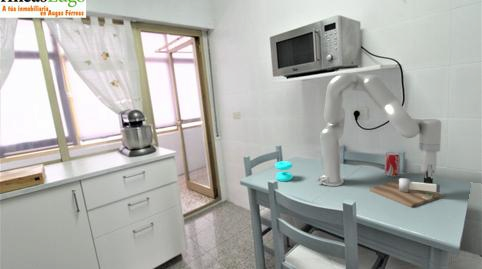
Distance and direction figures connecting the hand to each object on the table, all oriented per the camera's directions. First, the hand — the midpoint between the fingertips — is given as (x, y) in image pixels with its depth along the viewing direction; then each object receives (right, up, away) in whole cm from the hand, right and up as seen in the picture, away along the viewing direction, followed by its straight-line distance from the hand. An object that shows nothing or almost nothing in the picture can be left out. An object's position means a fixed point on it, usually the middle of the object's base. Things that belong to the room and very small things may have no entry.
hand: (427, 185), depth 111 cm
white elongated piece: (-4, -3, 0) cm, 5 cm away
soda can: (0, 0, +27) cm, 27 cm away
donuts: (-59, -4, +36) cm, 70 cm away
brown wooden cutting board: (-9, -4, +4) cm, 10 cm away
